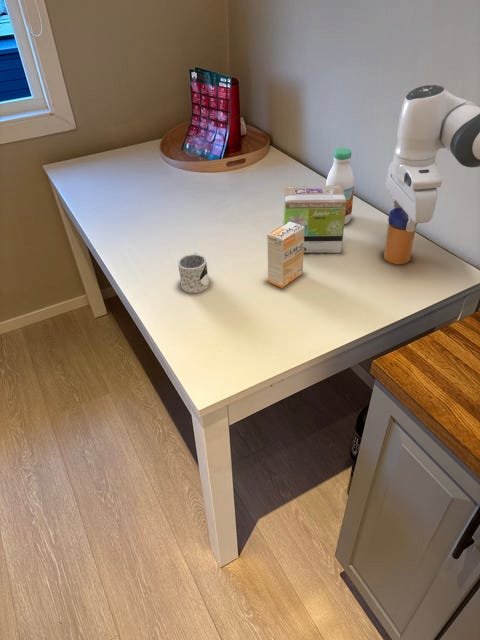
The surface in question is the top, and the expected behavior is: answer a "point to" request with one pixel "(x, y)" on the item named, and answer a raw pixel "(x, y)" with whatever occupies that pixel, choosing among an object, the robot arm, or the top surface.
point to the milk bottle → (343, 178)
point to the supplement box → (285, 254)
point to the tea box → (317, 215)
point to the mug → (193, 273)
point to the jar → (398, 245)
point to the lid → (398, 218)
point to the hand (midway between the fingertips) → (403, 222)
